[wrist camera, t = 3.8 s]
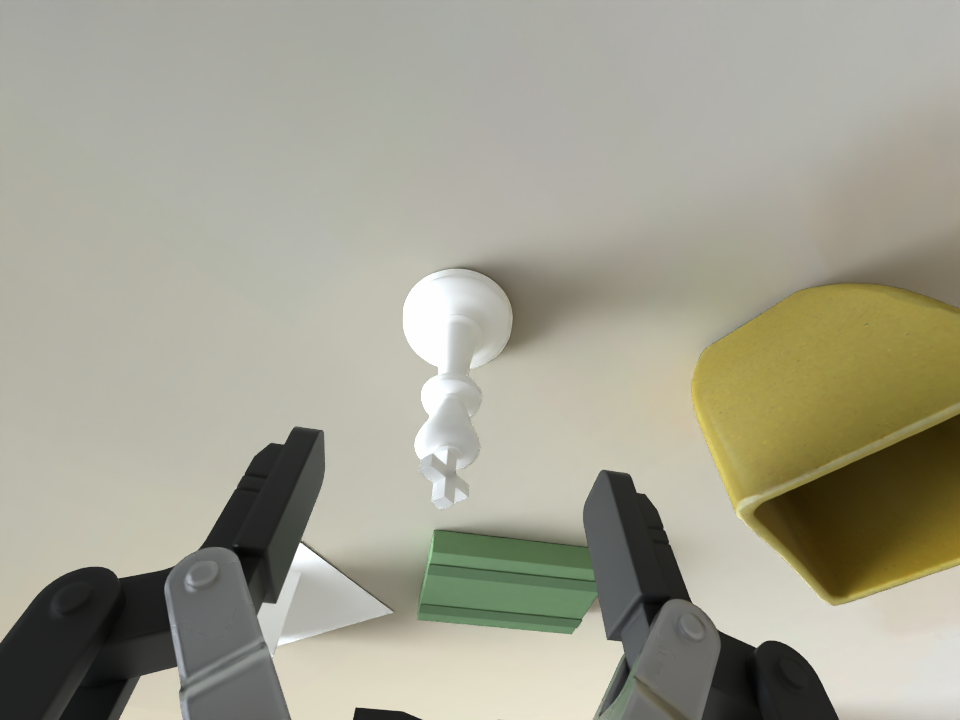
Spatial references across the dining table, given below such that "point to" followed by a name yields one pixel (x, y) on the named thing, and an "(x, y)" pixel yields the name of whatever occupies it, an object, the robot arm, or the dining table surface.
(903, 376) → the flower pot
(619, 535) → the robot arm
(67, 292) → the dining table surface
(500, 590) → the green flat rectangular block
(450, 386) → the chess piece
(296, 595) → the napkin holder
